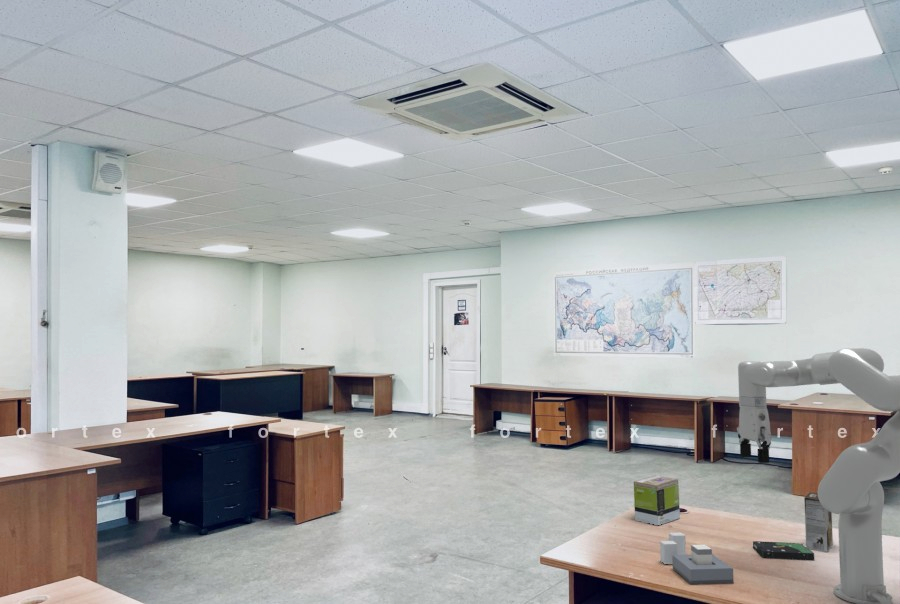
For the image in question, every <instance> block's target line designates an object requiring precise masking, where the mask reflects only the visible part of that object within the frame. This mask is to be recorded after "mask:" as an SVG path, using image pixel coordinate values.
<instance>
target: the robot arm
mask: <svg viewBox="0 0 900 604" xmlns="http://www.w3.org/2000/svg"><path fill="white" fill-rule="evenodd" d="M884 369H885V362H884V359H883V358H882V356H881V355H880V354H879V353H878V352H877V351H875V350H873V349H870V348H864V347H863V348H862V347H861V348H842V349H837V350H836V351H832V352H831V351H830V352H823V353H817V354H816V353H815V354H814V355H812V357H811V358H805V359H803V358H802V359H795V360H779V361H778V360H777V361H775V360H774V361H762V362H761V361H741V362H740V363H738V365H737V370H738V371H737V373H738V374H737V375H738V377H737V378H738V407H739V415H738V420H739V421H738V426H737V427H736V431H737V437H738V443H739V452H740V455H739V456H740V457H742V458H751V457H752V444H751V443H750V442H756V445H757V446H758V448H757V462H758V463H759V464H767V463H768V464H769V463H770V449H771V445H772V439H773V436H772V433H771V423H770V418H769V417H770V415H769V410H768V408H767V407H768V406H767V388H782V387H783V388H784V387H796V386H797V387H799V386H806V385H807V386H809V385H821V386H822V385H823V386H824V385H827V386H828V385H835V384H836V385H837V384H840V385H842V386H843V387H844V388H846V389H847V390H849V391H850V392H852V394H854V395H856V396H857V397H859V398H860V399H861V400H862V401H864V402H865V403H867V404H868V405H869V406H871V407H873V408H875V409H876V410H878V411H883V412H895V413H894V415H892V417H890V418H889V419H888V420H887V421H886V422H885V423H883V426H882V427H881V429H880V430H879V431H878V432H877V434H876V435H875V436H874V437H873V438H872V439H871V440H870V441H867V442H863V443H856V444H852V445H851V446H848V447H847V448H846V449H844V450H843V451H842V452H841V453H840V454H839V456H837V458H836V459H835V461H834V463H833V464H832V465H831V466H830V468H829V469H828V471H827V472H826V473H825V474H824V475H823V477H822V479H821V480H820V482H819V484H818V487H817V493H818V498H819V501H820V503H821V504H822V506H823V507H824V508H825V509H826V510H828V511H829V512H832V514H835V515H839V518H838V553H839V579H840V580H839V581H840V583H839V584H837V585H835V586H834V587H833V593H834V594H835V596H837V597H838V598H839V599H842V600H844V601H846V602H849V603H853V604H892V603H893V596H892V595H890V594H889V593H888V592H887V585H885V582H884V560H883V555H884V554H883V533H882V532H883V526H882V524H883V521H882V520H883V512H884V511H883V510H884V503H885V492H884V488H883V486H882V484H881V482H884V481H890V480H893V479H894V478H896V477H897V476H898V475H899V474H900V375H887V374H885V373H884Z"/></svg>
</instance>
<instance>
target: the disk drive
mask: <svg viewBox="0 0 900 604" xmlns="http://www.w3.org/2000/svg"><path fill="white" fill-rule="evenodd" d="M752 548H753V550H754V551H755V552H756V553H757V554H758V555H759V556H760V557H761V558H762V559H769V560H771V559H772V560H790V561H791V560H793V561H815V552H813V551H812V549H809V548H806V545H804V543H799V542H797V543H796V542H780V541H779V542H778V541H761V540H760V541H759V540H756V541H754V540H753V541H752Z"/></svg>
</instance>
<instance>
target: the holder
mask: <svg viewBox="0 0 900 604" xmlns="http://www.w3.org/2000/svg"><path fill="white" fill-rule="evenodd" d="M672 560H673V565H672V570H673V569H674V570H675V571H674V570H673V571H674V572H676V574H678V573H679V574H680V575H681V576H682V577H681V576H680V575H679V574H678V575H679V576H680V577H681V578H683V579H684V580H685V581H686V582H687V583H688V584H690V585H713V584H714V585H719V584H720V585H722V584H723V585H724V584H734V567H732V566H730V565H729V564H728V563H727V562H724V561H723V560H722V559H720V558H719V557H718V556H716V555H715V554H713V553H712V565H696V564H695V563H693V562H692V553H691V554H686V555H672Z"/></svg>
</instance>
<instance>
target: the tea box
mask: <svg viewBox="0 0 900 604" xmlns="http://www.w3.org/2000/svg"><path fill="white" fill-rule="evenodd" d="M633 495H634V496H633V499H634V501H633V503H634V520H635V521H636V522H639V521H641V522H640V523H643V522H646V523H645V524H647V523H650V524H649V525H651V524H654V525H653V526H656V525H659V526H661V524H662V525H664V524H667V523H671V522H673V521H676V520H679V519H680V518H681V512H680V511H681V508H680V488H679V479H678V478H672V477H666V476H660V475H652V476H648V477H646V478H642V479H638V480H634V481H633Z"/></svg>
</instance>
